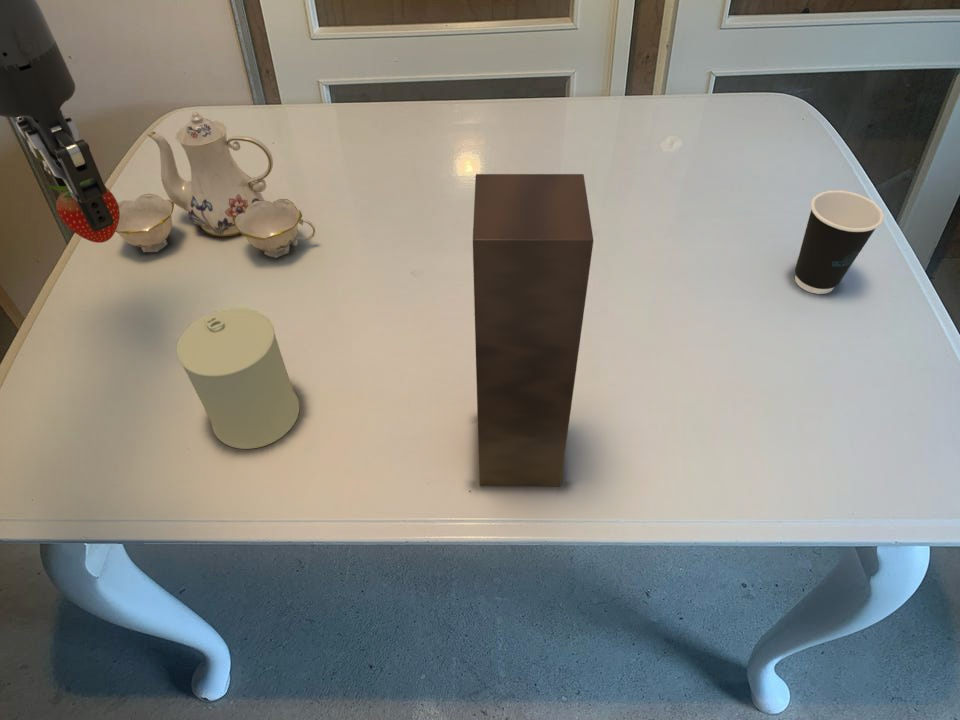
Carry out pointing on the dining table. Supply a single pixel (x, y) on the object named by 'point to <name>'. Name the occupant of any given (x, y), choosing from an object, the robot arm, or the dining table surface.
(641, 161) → the dining table surface
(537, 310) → the plinth
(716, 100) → the dining table surface
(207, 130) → the chinaware
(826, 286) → the dixie cup
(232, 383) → the can
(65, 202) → the fruit
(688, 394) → the dining table surface
